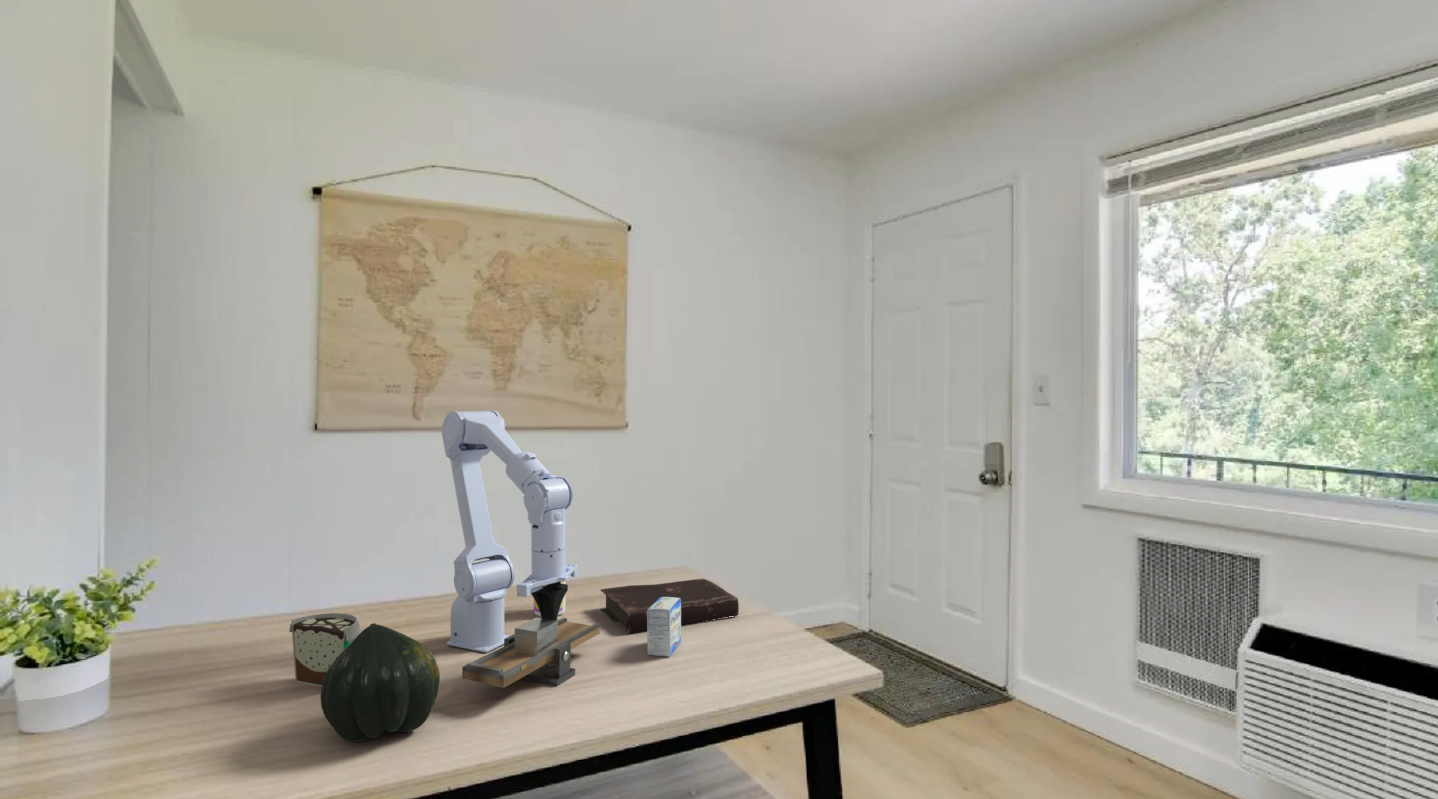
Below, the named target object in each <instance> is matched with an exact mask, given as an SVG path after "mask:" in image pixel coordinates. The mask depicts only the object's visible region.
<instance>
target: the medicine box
mask: <svg viewBox="0 0 1438 799" xmlns="http://www.w3.org/2000/svg"><path fill="white" fill-rule="evenodd" d="M646 634H647V635H646V638H647V640H646V642H647V645H646V647H647V655H648V656H653V657H655V656H656V657H668V658H670V657H671V656H672V654H673V653H674V652H675V651H676V648H678V647H679V645H680V643H681V640H682V626H681V599H680V598H675V597H660V598H659V599H658V600H657V601H656V602H655V603H654V604H653V605H652V606H651V607H650V608H649V609H648V611H647V631H646Z"/></svg>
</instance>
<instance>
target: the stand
mask: <svg viewBox="0 0 1438 799" xmlns="http://www.w3.org/2000/svg"><path fill="white" fill-rule="evenodd" d="M513 642H515V633H514V634H510V635H509V637H507V638H505V639H504V644H503V647H504V646H506V645H509V644H511V643H513ZM570 648H571V643H564V644H562V645H560V646H558V647H556V648H555V659H554V664H552V663H549V662H548V663H547V664H545V665H543V666H541V667H540V668H538V669H536V670H534V671H533V672H531V673H529V674H527V675H526V676H524V677H522V678H521V679H522V680H527V681H531V682H537V683H541V684H545V685H549V686H556V687H558V686H560V685H561V684H563V683H565V682H566V681H568V680H570V679H571V678H572V677H574V676H575V675H576V668H573V667H571V650H570Z"/></svg>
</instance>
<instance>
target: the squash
mask: <svg viewBox="0 0 1438 799" xmlns="http://www.w3.org/2000/svg"><path fill="white" fill-rule="evenodd" d="M439 668H440V667H439V666H438V663H437V660H436V658H435V656H434V654H433V653H432V652H431V650H430V649H429V648H428V647H426V645H424V644H422V643H421V642H420V641H418V640H416V639H414V638H412V637H410V636H408V635H406V634H403V633H402V632H399V631H398V630H394V629H392V628H390V627H388V626H384V625H381V624H377V623H375V622H372V623H371V624H370V625H369V626H367V627H365V628H364V629H363V630H362V631H361V632H360V634H359V635H358V636H357V637H356V638H355V639H354V640H353V641H352V642H351V644H350V645H349V646H348V647H347V648H346V649H345V650H344V651H343V652H342V653H341V654H340V655H339V656H338V657H337V658H336V659H335V661H334V662H333V663H332V665H331V666H330V667H329V669H328V670H327V672H326V674H325V676H324V679H323V683H322V687H321V690H320V696H319V698H320V705H321V706H320V707H321V710H322V712H323V715H324V718H325V719H326V721H327V723H328V724H329V725H330V726H331V727H332V728H333V730H334V732H335V733H336V734H337V735H338V737H340V738H342V739H343V740H345V741H348V742H353V743H354V742H362V741H365V740H368V739H369V738H371V739H375V738H378V737H380V736H381V735H382V734H383V733H384V732H385V731H386V732H388V733H390V732H396V731H398V732H401V733H408V732H412V731H415V730H417V729H419V728H420V727H422V725H423V724H424V723H426V721H427V719H428V718H429V716H430V714H431V712H432V709H433V706H434V705H435V703H436V700H437V697H438V695H439V694H438V693H439V688H440V678H441V677H440V669H439Z"/></svg>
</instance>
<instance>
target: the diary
mask: <svg viewBox="0 0 1438 799" xmlns="http://www.w3.org/2000/svg"><path fill="white" fill-rule="evenodd" d="M600 591H601V592H602V593H603V594H604V595H605V607H604V608H600V609H599V610H600V611H601V612H602V613H603V614H604V615H605V616H607V617H608V618H609V619H610V620H612V621H613V622H614V623H620V624H621V625H622V626H623V627H625V629H626V630H624V632H625V631H626V632H627V635H631V634H639V633H643V632H647V611H648V609H649V608H650V607H651V606H652V605H653V604H654V603H655V602H656V601H657V600H658V599H659V598H660V597H675V598H680V599H681V627H682V625H683V626H687V625H686V624H689V625H695V624H698V622H701V623H704V622H703V621H706V620H713V619H718V618H723V617H729V616H737V615H738V616H739V609H740V608H739V606H740V605H739V597H736V596H735V595H733V594H731V593H729V592H728V591H727V590H725V589H724V588H722V587H721V586H720V585H717V584H716V583H714V582H713V581H710V580H708V579H706V578H696V579H689V580H688V579H687V580H681V581H673V582H663V583H658V584H657V583H656V584H635V585H633V584H632V585H624V586H616V587H609V588H608V587H607V588H601V589H600ZM713 621H714V620H713ZM694 623H695V624H694Z"/></svg>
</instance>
